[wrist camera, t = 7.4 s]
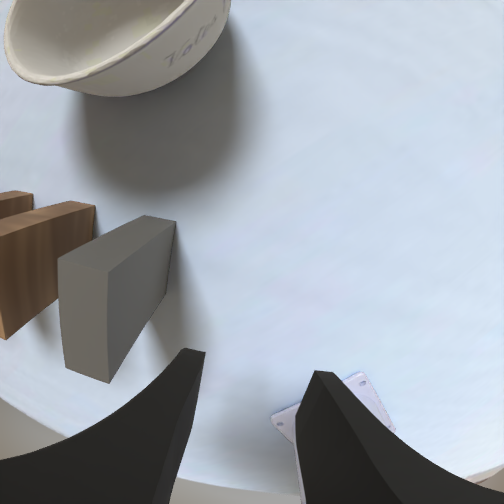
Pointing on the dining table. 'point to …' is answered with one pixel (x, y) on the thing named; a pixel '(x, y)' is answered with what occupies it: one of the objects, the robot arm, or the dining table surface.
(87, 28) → the teacup
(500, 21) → the dining table surface
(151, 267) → the domino
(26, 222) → the domino
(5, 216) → the domino
